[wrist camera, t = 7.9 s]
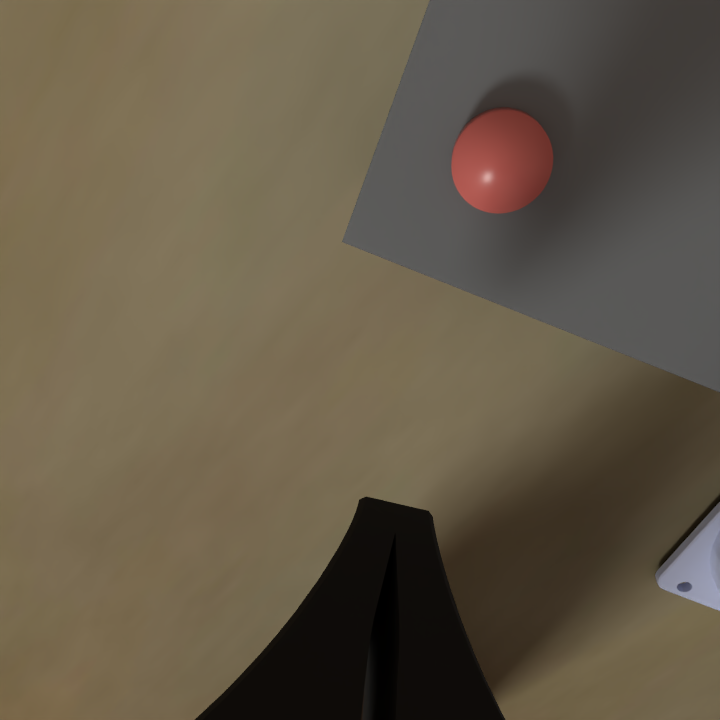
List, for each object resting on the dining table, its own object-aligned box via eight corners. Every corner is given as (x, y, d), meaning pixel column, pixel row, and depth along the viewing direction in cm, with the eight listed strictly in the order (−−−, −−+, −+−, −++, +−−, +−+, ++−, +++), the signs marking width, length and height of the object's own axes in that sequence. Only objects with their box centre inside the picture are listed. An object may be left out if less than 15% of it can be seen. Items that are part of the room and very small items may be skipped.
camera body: (1030, 42, 15) (1276, 57, 10) (771, 356, 19) (864, 459, 15) (508, -189, 14) (530, -282, 10) (366, 192, 18) (337, 250, 14)
